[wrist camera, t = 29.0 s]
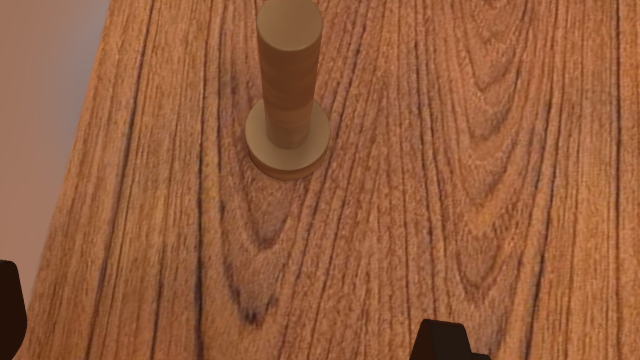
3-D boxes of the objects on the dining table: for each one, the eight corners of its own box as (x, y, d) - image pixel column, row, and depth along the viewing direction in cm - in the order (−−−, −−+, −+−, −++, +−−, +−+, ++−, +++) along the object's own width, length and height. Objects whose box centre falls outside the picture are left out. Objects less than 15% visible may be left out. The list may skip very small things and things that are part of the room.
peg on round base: (238, 170, 28) (205, 64, 16) (258, 97, 29) (242, -50, 18) (317, 189, 28) (341, 96, 16) (335, 115, 29) (368, -20, 18)
